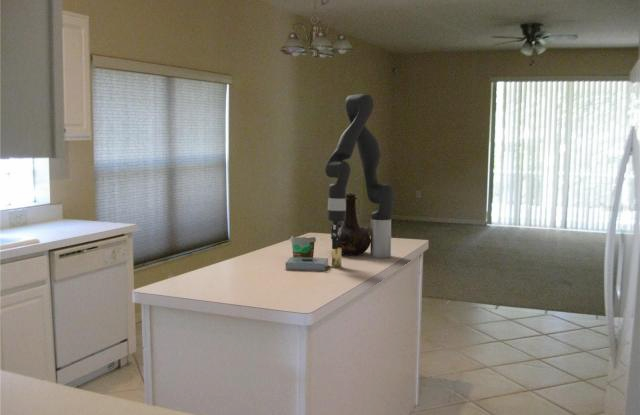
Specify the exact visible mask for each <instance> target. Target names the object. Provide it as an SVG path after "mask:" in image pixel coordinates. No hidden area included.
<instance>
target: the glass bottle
mask: <svg viewBox="0 0 640 415" xmlns="http://www.w3.org/2000/svg"><path fill="white" fill-rule="evenodd" d="M356 200H358V198H357V197H356V194H355V193H348V194H347V193H346V220H345V221H343V224H342V228H341V237H340V246H338V247H339V248H342V255H345V256H346V255H347V256H357V255H358V256H359V255H361V254H363V253H365V252H366V251H367V250H368V249H370V248H369V247H371V234H370V233H369V231H368V230H367V229H366V228H364V227H362V226H361V227H360V225H359V223H358V219H357V210H356Z"/></svg>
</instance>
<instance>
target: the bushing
mask: <svg viewBox="0 0 640 415" xmlns="http://www.w3.org/2000/svg"><path fill="white" fill-rule="evenodd" d="M342 255H343V254H342V248H339V247H338V248H337V249H332V248H331V268H333V269H338V268H339V269H340V268H342V257H343V256H342Z"/></svg>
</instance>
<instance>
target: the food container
mask: <svg viewBox="0 0 640 415" xmlns="http://www.w3.org/2000/svg"><path fill="white" fill-rule="evenodd" d="M289 241H290V242H291V247H292V257H306V258H314V252H315V243H316V242H317V239H316V237H315V236H312V237H311V236H310V237H305V236H301V237H300V236H299V237H297V236H294V234H292V235H291V237H290V240H289Z"/></svg>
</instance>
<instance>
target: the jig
mask: <svg viewBox="0 0 640 415" xmlns="http://www.w3.org/2000/svg"><path fill="white" fill-rule="evenodd" d="M327 267H329V257H326V258H325V257H313V258H306V257H293V256H291V257H290V258H288V259H287V261H285V270H289V271H314V272H315V271H316V272H317V271H319V272H325V270H326V269H327Z"/></svg>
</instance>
